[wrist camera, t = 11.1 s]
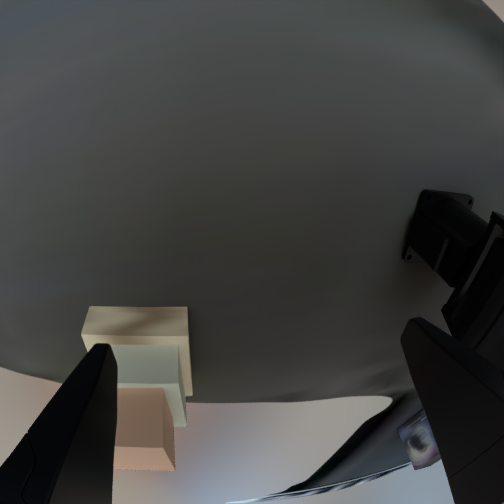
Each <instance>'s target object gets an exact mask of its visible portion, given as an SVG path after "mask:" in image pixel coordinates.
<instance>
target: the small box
mask: <svg viewBox="0 0 504 504" xmlns="http://www.w3.org/2000/svg"><path fill="white" fill-rule="evenodd" d="M397 431H398V433H399V435H400V437H401V439H402V442H403V444H404V446H405V448H406V451H407V453H408V455H409V458H410V460H411V462H412V465H413V467H414V470H418V469H421V468H425V467H429V466H431V465H433V464H434V463H436V462H437V461H438V460H440V459H441V456H440V453H439V450H438V447H437V444H436V442H435V439H434V436H433V433H432V430H431V428H430V425H429V422H428V419H427V417H426V414H425V411H424V409H422V410H421V411H419V412H418V413H417V414H416V415H414V416H413V417H412V418H411V419H409V420H408V421H407V422H405V423H404V424H403V425H401V426H400V427H399V428H397Z"/></svg>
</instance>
